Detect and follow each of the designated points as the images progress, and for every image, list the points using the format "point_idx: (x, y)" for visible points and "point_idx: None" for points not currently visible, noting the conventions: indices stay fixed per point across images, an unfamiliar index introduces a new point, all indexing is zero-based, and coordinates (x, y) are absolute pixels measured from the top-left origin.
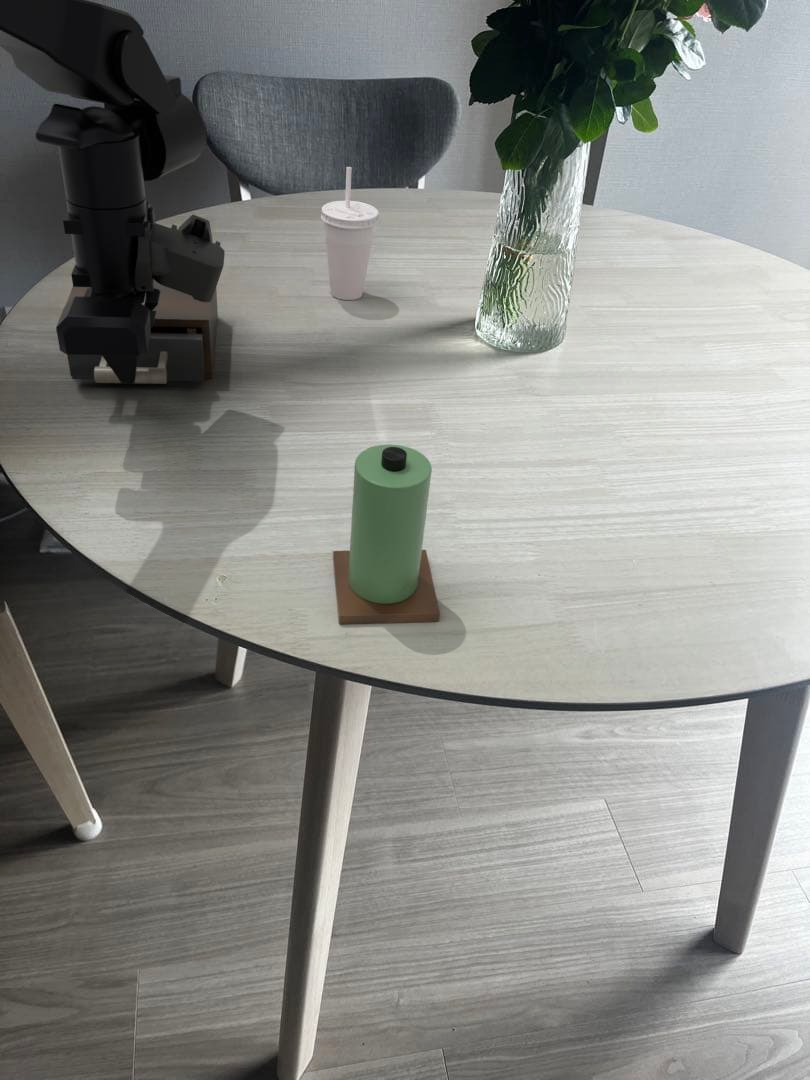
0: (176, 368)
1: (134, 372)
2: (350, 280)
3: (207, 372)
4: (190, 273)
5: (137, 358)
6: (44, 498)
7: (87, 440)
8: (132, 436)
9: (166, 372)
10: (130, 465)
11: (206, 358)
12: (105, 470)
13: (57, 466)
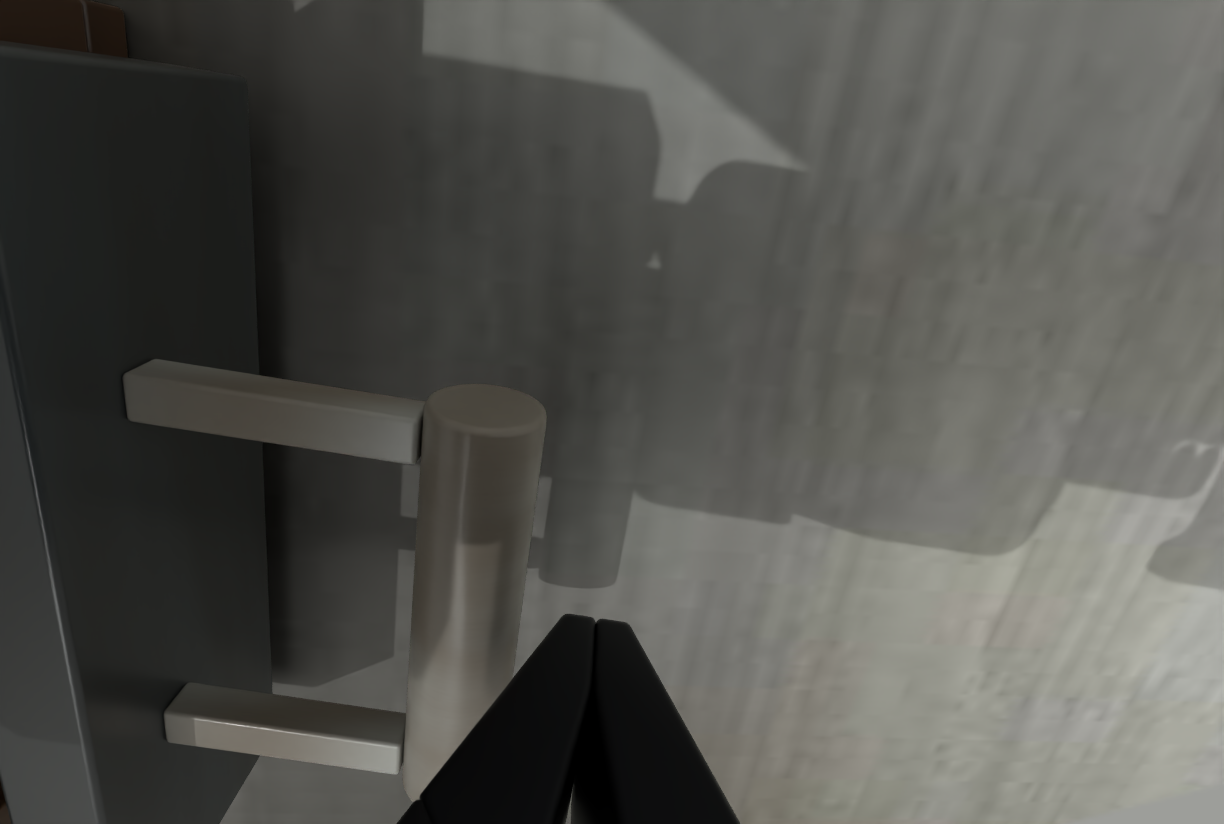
0: (204, 279)
1: (661, 687)
2: None
3: (96, 37)
4: None
5: (556, 713)
6: (1088, 792)
7: (731, 665)
8: (739, 505)
9: (450, 401)
10: (984, 527)
11: (1, 23)
12: (985, 616)
13: (893, 756)
